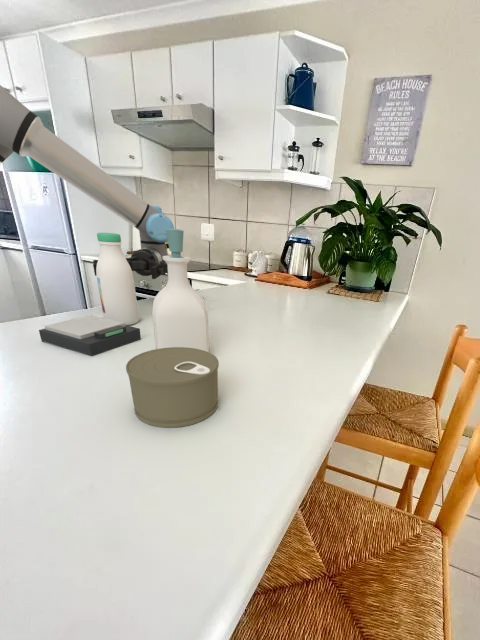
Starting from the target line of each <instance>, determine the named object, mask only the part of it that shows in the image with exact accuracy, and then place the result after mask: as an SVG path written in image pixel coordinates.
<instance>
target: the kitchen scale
mask: <svg viewBox="0 0 480 640" xmlns="http://www.w3.org/2000/svg"><path fill="white" fill-rule="evenodd" d="M38 333H39V336H40V339H41V342H43V343H46V344H50V345H53V346H57V347H60V348H64V349H67V350H70V351H74V352H77V353H79V354H83V355H87V356H90V357H93V356H96V355H99V354H102V353H104V352H107V351H111V350H113V349H116V348H119V347H122V346H125V345H128V344H130V343H133V342H136V341H139V340H141V339H142V335H141V329H140V328H139V327H135V326H130V325H125V323H123V322H119V321H115V320H110V319H106V318H104V317H101V316H97V315H94V314H89V315H86V316H81V317H77V318H73V319H68V320H64V321H59V322H54V323H51V324H46V325H44V328H42V329H41V328H40V329H38Z"/></svg>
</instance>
